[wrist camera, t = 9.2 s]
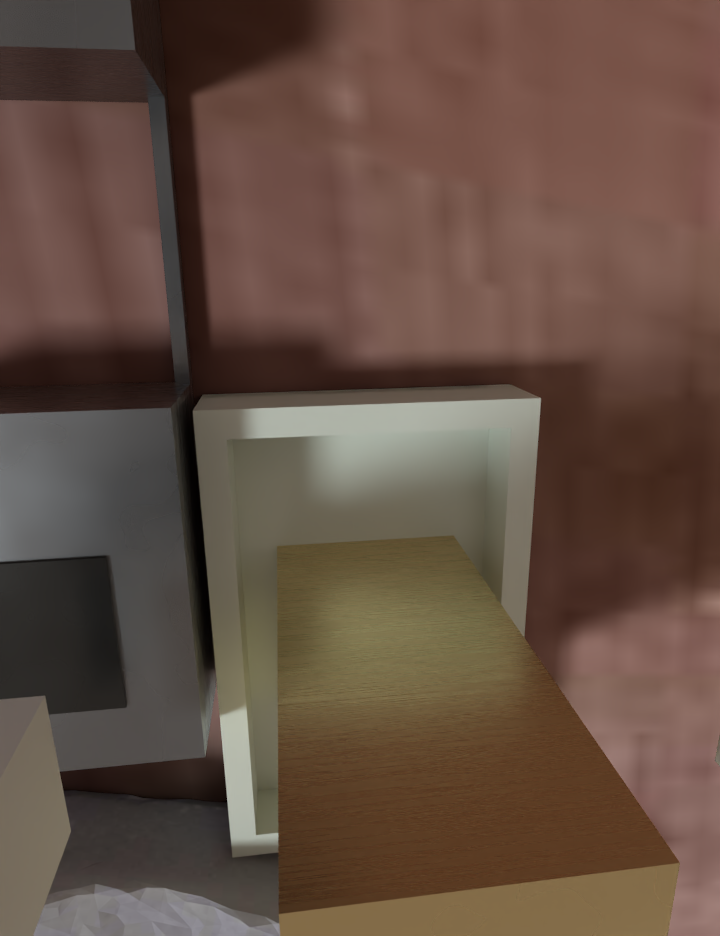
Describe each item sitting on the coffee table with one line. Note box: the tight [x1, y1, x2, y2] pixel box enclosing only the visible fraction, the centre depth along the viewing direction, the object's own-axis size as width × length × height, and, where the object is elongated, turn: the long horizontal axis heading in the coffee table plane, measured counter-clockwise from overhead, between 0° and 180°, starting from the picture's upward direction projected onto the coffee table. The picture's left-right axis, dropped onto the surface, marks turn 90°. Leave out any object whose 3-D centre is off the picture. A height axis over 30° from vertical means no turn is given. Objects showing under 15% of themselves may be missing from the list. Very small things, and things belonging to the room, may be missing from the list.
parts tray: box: [193, 384, 541, 858], centre depth 15 cm, size 11×7×2 cm, turn 1°
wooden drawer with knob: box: [277, 535, 680, 936], centre depth 11 cm, size 4×4×9 cm
